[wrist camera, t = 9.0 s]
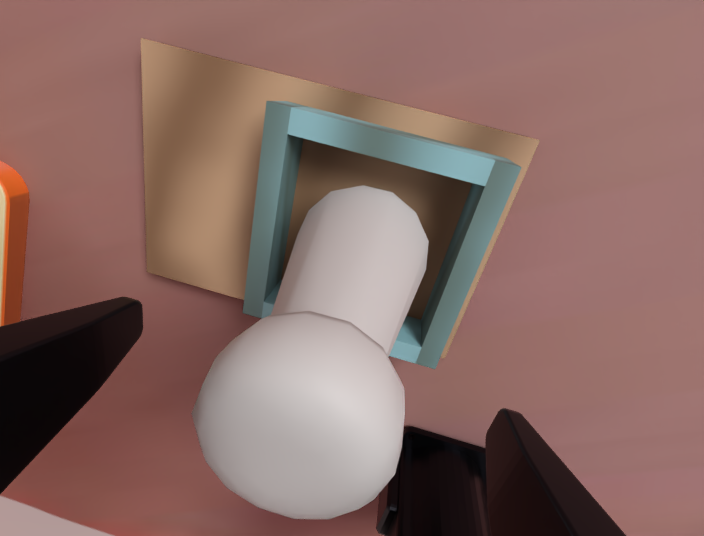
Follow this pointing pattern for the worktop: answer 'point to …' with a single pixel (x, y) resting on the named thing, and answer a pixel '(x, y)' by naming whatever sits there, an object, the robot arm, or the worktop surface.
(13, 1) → the worktop surface
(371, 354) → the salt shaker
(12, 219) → the crank mechanism
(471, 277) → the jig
